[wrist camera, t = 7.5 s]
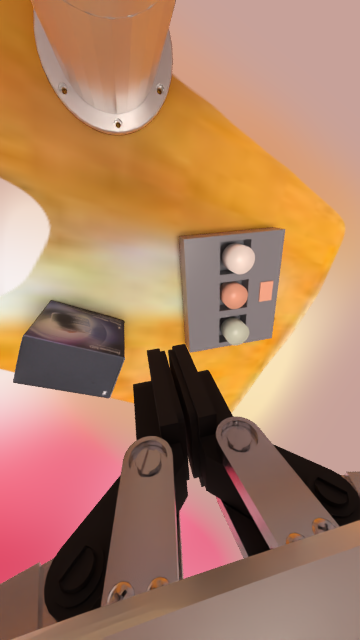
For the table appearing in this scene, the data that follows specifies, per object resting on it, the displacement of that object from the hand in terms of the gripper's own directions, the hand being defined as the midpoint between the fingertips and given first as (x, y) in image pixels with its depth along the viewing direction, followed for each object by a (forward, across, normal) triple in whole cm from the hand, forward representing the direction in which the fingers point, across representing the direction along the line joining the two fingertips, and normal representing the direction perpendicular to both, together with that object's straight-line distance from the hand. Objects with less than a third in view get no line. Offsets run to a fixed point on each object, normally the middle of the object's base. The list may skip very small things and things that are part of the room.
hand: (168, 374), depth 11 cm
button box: (+25, -13, +6) cm, 29 cm away
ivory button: (+23, -13, 0) cm, 26 cm away
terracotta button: (+24, -13, +6) cm, 28 cm away
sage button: (+23, -13, +12) cm, 28 cm away
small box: (+25, +9, +9) cm, 28 cm away
